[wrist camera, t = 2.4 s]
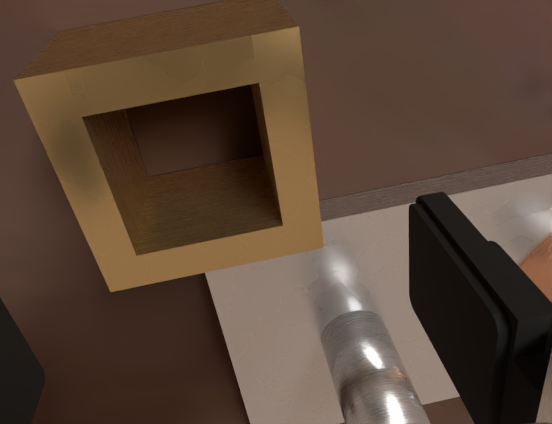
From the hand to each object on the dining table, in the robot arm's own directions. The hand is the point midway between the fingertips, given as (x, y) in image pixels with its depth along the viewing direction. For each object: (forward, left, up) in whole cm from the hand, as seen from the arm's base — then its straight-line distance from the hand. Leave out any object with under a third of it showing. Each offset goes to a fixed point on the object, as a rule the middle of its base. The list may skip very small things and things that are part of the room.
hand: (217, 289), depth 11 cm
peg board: (+11, +11, -9) cm, 18 cm away
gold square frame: (-1, 0, -9) cm, 9 cm away
